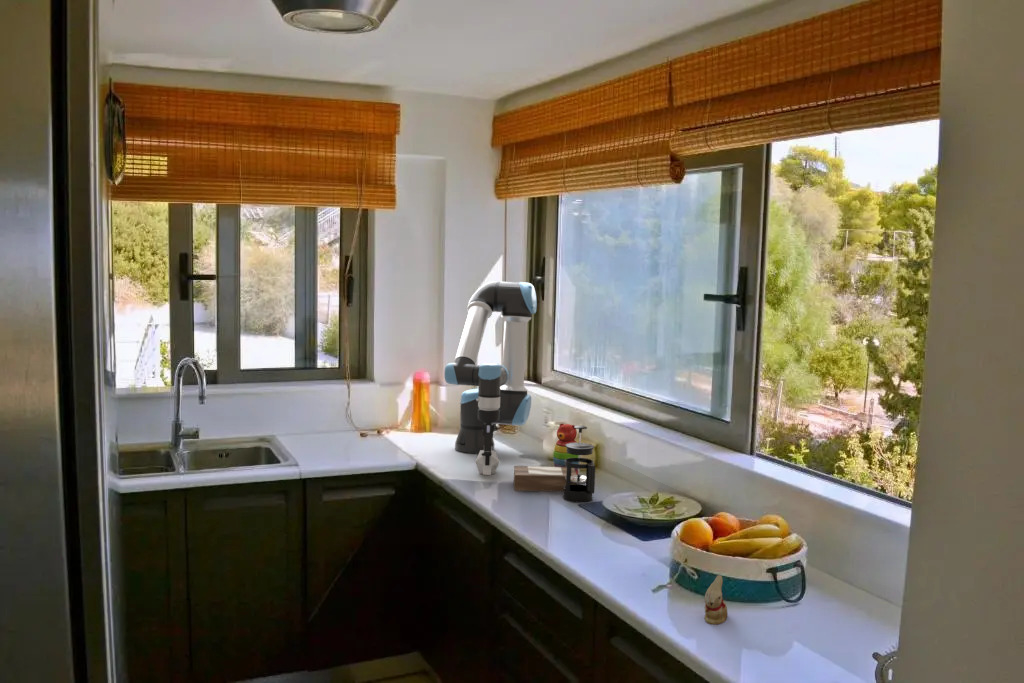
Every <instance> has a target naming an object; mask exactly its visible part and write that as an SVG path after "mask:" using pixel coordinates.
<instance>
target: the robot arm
mask: <svg viewBox="0 0 1024 683" xmlns="http://www.w3.org/2000/svg"><path fill="white" fill-rule="evenodd" d="M537 304H538V303H537V293H536V290H535V287H534V285H533V284H532V283H530V282H524V281H499V280H494V281H493V280H492V281H488V282H487V283H485V284H483V285H482V286H480V287H479V288H478V289H477V290H476V291H475V292H474V293H473V294H472V296H471V297H470V299H469V301H468V305H467V308H466V310H467V313H468V314H467V318H466V320H465V324H464V328H463V331H462V334H461V338H460V341H459V343H458V344H459V345H458V348H457V351H456V355H455V358H454V362H450V363H449V362H448V363H447V364H446V365H445V366H444V367H445V368H444V380H445V382H446V383H447V384H449V385H455V386H473V387H478V388H472V389H467V390H465V391H463V392H462V393H461V395H460V396H461V397H460V403H459V404H460V415H459V416H460V417H459V418H460V419H459V420H460V421H459V422H460V423H459V431H458V435H457V437H456V440H455V444H454V448H455V450H456V451H458V452H461V453H467V454H468V453H469V454H479V452H480V450H484V453H482V456H483V474H482V475H484V476H485V475H487V476H489V475H490V476H491V475H492V474H491V457H492V453H491V451H495V444H496V443H495V441H494V431H495V424H496V425H497V424H498V425H506V426H507V425H508V426H524V425H525V424H526V423H527V422H528V419H529V416H530V413H531V408H532V396H531V395H530V394H528V389H527V388H526V387H525V385H524V384H525V371H526V370H525V368H526V351H527V348H526V347H527V331H528V322H529V321H531V319H532V317H533V316H532V315H535V314H536V312H537V308H538V306H537ZM495 312H496V313H500V317H501V318H502V320H503V321H504V326H503V328H504V330H503V344H502V345H503V346H502V348H503V349H502V361H501V362H502V364H499V363H494V362H483V363H481V364H476V363H477V358H478V356H479V352H480V348H481V345H482V341H483V337H484V334H485V330H486V326H487V323H488V320H489V318H491V317H492V315H493V313H495ZM486 451H489V452H486Z"/></svg>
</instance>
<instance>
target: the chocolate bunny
mask: <svg viewBox="0 0 1024 683" xmlns="http://www.w3.org/2000/svg"><path fill="white" fill-rule="evenodd" d="M723 582H724V580H723V576H722V575H720V574H718V575H717V576H716V577H715V579H714V580H713V582H712V583H710V586H709V587H708V588H707V589H706V592H705V593H704V597H703V598H704V603H705V604H704V622H706V624H709V625H714V626H716V625H717V626H718V625H720V624H723V623H725V622H726V621H727V619H728V608H727V604H726V602H725V601H724V600H725V599H723V592H722V591H723V590H722V587H723Z"/></svg>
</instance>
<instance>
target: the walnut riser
mask: <svg viewBox="0 0 1024 683" xmlns="http://www.w3.org/2000/svg"><path fill="white" fill-rule="evenodd" d="M571 475H576V472H575V469H574V468H572V469H571ZM566 476H567V467H555V466H536V465H535V466H534V465H533V466H531V465H529V466H528V465H514V466H513V485H514V486H513V488H514V491H525V492H526V491H528V492H529V491H533V492H537V491H538V492H564V486H566V479H565V477H566ZM571 484H578V483H571Z"/></svg>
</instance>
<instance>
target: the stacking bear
mask: <svg viewBox="0 0 1024 683" xmlns="http://www.w3.org/2000/svg"><path fill="white" fill-rule="evenodd" d="M575 426H576V425H574V424H568V423H567V424H564V423H559V427H558V428H557V431H556V436H557V438H558V440H557V441H556V443H555V445H554V448H553V453H552V460H553V467H567V466H565V459H568V458H579V455H572V454H569V453H567V447H566V446H565V445H566V444H568V443H578V442H577V441H576V438H577V434H578V433H577V429H576V428H574V427H575ZM572 464H579V462H572ZM574 469H575V472H576V475H578V468H574Z"/></svg>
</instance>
